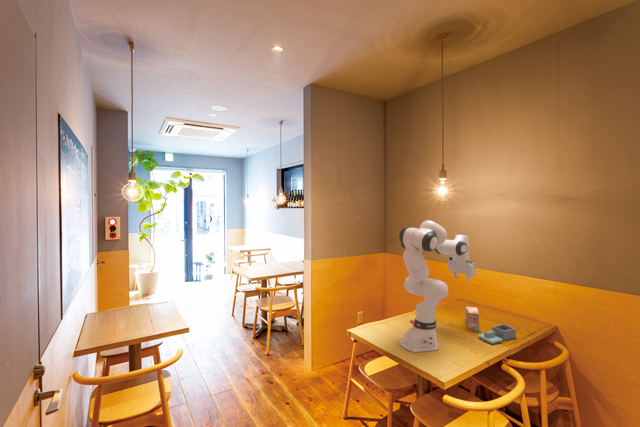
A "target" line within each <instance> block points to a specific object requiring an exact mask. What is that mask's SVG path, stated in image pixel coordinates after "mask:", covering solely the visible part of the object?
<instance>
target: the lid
mask: <svg viewBox="0 0 640 427" xmlns="http://www.w3.org/2000/svg"><path fill="white" fill-rule="evenodd" d="M476 336H477V338H480V339H481V340H482V341H484V342H487V343H489V344H491V345H495V344H497V343H501V342H504V341H503V339H501V338H499V337H496V336H495V332H494V331H492V329H491V330H487V331H484V332H483V333H480V334H479V333H478V334H477V335H476Z"/></svg>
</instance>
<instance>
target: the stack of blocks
mask: <svg viewBox="0 0 640 427" xmlns="http://www.w3.org/2000/svg"><path fill="white" fill-rule="evenodd" d="M465 320H466V326H467V331H468V332H476V333H479V332H480V324H479V323H480V313H479V309H478V308H477V307H473V306H465Z"/></svg>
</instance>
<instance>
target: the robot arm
mask: <svg viewBox="0 0 640 427" xmlns="http://www.w3.org/2000/svg"><path fill="white" fill-rule="evenodd" d="M447 237H448V232H447V231H446V229H445V228H444V227H443V226H442V225H440V224H439V223H437V222H436V221H434V220H429V219H426V220H424V221H423V222H422V223H421V224H420V225H419V228H417V227H413V226H412V227H411V226H405V227H403V228H402V229H401V230H400V231H399V235H398V239H399V242H400V244H401V247H402V248H403V249H404V251H403V255H402V257H403V263H404V265H405V268H406V270H407V273H408V276H407V277H406V278H405V280H404V282H403V288H404V290H405V291H406V292H408V293H409V294H412V295H415V296H420V297H424V300H423V301H420V302H419V303H417V304H416V305H415V318H414V320H412V319H410V320H409V323H410V324H412V326H411V327H410V328H409V329H408V330H407V331H406V332H405V333H404V335H403V339H402V340H401V339H400V340H399V345H400V347H402V348H403V349H405V350H406V351H409V352H411V353H421V352H432V351H437V350H439V348H438V347H439V342H438V337H437V329H436V328H437V320H436V313H437V307H438V304H439V303H440V302H441V301H442V300H444V299H445V298H447V296H448V294H449V286H448V285H447V283H446V282H444V281H443V280H440V279H436V278H430V277H429V275H430V269H429V266H428V265H427V261H426V259H425V257H424V256H423V252H422V251H424V252H430V253H431V252H433V251H435V253H436V254H438V255H446V256H447V255H448V256H449V257H447V260H448V261H447V269H448V271H450V272H452V275H453V279H454V280H459V277H458V275H457V274H461V275H465V276H466V278H465V282H466V283H469V282H470V280H471V278H472V277H476V275H477V268H476V263H475V261H472V260H470V252H469V250H470V240H469V236H468V234H467V235H466V234H464V233H463V234H462V233H456V234H455V235H454V239H447ZM428 277H429V278H428Z"/></svg>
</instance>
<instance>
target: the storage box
mask: <svg viewBox="0 0 640 427" xmlns="http://www.w3.org/2000/svg"><path fill="white" fill-rule="evenodd" d="M491 327H492V328H491V330H492V331H494V332H495V336H496V337H499V338H501V339H503V341H502V342H506V341H511V340H515V339H517V338H516V335H517V334H516V333H517V328H516V327H513V326H510V325H507V324H504V323H503V324H497V325H494V326H493V325H492V326H491Z"/></svg>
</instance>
